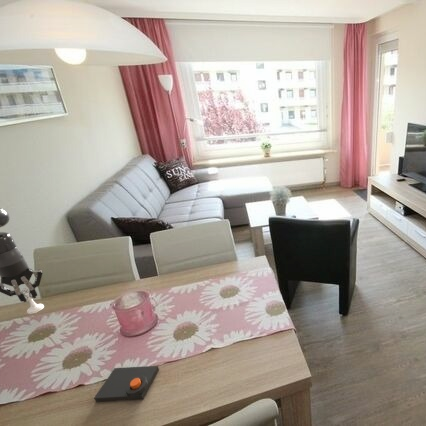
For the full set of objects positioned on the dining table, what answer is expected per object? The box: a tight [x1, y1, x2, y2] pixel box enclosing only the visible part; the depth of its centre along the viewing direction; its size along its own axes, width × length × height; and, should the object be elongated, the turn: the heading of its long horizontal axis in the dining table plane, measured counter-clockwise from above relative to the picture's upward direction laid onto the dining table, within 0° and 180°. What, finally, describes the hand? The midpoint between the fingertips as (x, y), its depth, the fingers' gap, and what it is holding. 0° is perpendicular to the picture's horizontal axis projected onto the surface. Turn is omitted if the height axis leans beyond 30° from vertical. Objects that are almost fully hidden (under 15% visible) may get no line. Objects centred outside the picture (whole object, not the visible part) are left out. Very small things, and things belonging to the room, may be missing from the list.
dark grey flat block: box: [94, 365, 160, 403], centre depth 91 cm, size 10×14×4 cm
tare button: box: [130, 378, 141, 389], centre depth 88 cm, size 3×3×2 cm
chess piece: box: [21, 288, 45, 315], centre depth 111 cm, size 5×5×10 cm
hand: (29, 299), depth 111 cm, fingers closed on chess piece
